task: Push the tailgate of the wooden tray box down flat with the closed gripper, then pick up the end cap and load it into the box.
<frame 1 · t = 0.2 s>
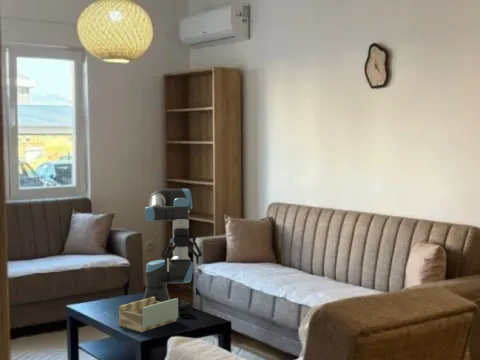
hand: (181, 271, 324), 27 cm above the table, tool tilted 15°, fingers open, 13 cm apart
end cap: (183, 315, 346), on the table
wooden tray box: (148, 323, 329), on the table
tailgate: (160, 312, 324), point 7 cm above the table, hinge at 0.0°
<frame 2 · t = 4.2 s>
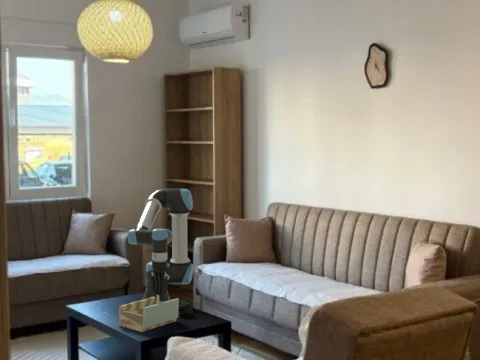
hand: (159, 307, 324), 10 cm above the table, tool pointing down, fingers closed
tailgate: (161, 312, 323), point 7 cm above the table, hinge at 3.8°, touching gripper
everything else where it was.
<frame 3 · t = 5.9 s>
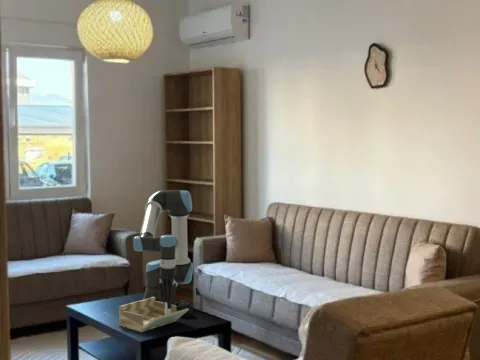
hand: (167, 314, 321), 7 cm above the table, tool pointing down, fingers closed
tailgate: (166, 318, 321), point 5 cm above the table, hinge at 52.5°, touching gripper
everything else where it was.
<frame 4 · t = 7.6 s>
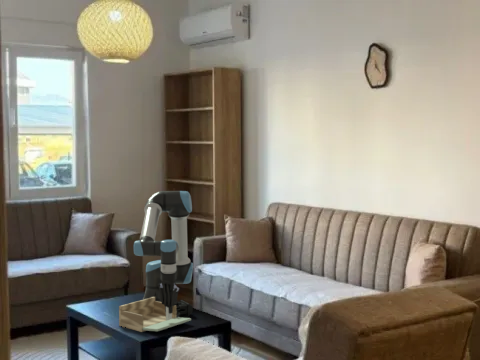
hand: (168, 319, 321), 5 cm above the table, tool pointing down, fingers closed
tailgate: (167, 324, 321), point 2 cm above the table, hinge at 82.7°
everything else where it was.
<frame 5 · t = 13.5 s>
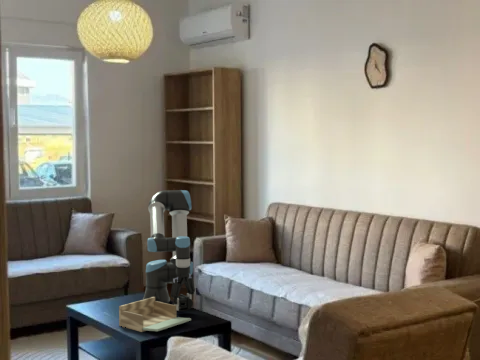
hand: (182, 307, 347), 3 cm above the table, tool pointing down, fingers closed on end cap, 9 cm apart
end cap: (182, 309, 347), point 3 cm above the table, touching gripper
everything else where it was.
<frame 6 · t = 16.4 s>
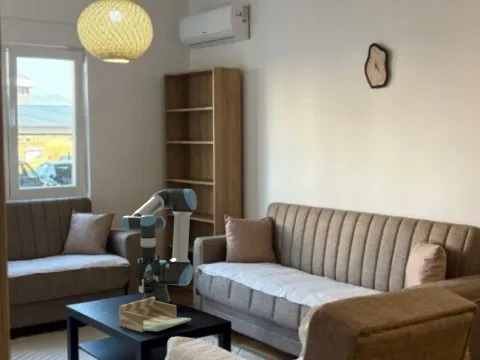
hand: (148, 290, 328), 17 cm above the table, tool pointing down, fingers closed on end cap, 9 cm apart
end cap: (148, 291, 328), point 16 cm above the table, touching gripper
everything else where it was.
when the fingers open (3 cm above the table, at t = 19.3 s): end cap stays where it is, resting on wooden tray box.
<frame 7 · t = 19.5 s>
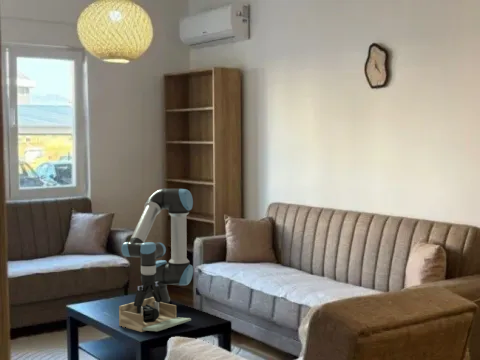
hand: (148, 316, 329), 3 cm above the table, tool pointing down, fingers open, 11 cm apart
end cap: (148, 320, 329), point 2 cm above the table, touching wooden tray box
everything else where it was.
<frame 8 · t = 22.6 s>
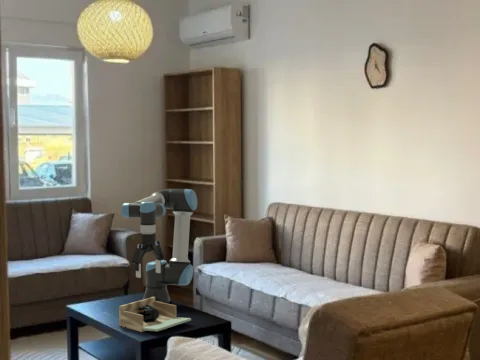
hand: (148, 275, 328), 25 cm above the table, tool pointing down, fingers open, 13 cm apart
nothing on the table moved.
at the end: tailgate at +83° (first picture: +0°); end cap inside the target area on the wooden tray box (0.0 cm from its centre), point 1.8 cm above the wooden tray box's base; the gripper is holding nothing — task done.
